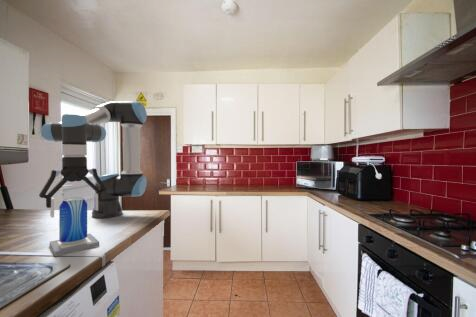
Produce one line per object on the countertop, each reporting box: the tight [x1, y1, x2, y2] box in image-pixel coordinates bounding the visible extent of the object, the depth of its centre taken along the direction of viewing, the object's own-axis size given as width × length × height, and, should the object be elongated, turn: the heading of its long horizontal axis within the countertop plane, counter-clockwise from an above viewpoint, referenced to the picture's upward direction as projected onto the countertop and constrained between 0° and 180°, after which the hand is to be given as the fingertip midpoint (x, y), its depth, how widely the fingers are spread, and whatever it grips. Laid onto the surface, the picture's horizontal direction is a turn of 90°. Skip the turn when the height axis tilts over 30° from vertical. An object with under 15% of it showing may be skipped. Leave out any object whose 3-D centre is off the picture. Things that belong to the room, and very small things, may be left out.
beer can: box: [58, 196, 88, 245], centre depth 85 cm, size 8×8×16 cm
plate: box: [49, 233, 100, 257], centre depth 85 cm, size 13×13×2 cm
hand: (75, 213), depth 86 cm, fingers open, 13 cm apart
